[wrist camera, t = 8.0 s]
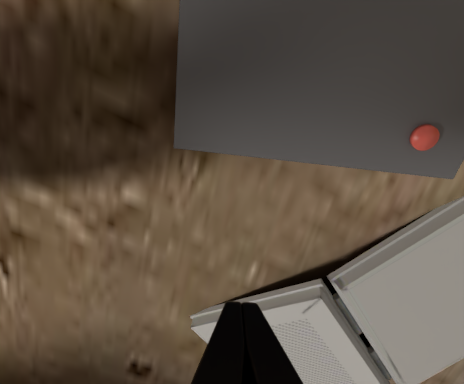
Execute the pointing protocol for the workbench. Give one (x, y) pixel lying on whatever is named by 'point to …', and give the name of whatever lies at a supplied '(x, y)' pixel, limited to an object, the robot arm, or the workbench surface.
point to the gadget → (375, 309)
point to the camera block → (324, 82)
